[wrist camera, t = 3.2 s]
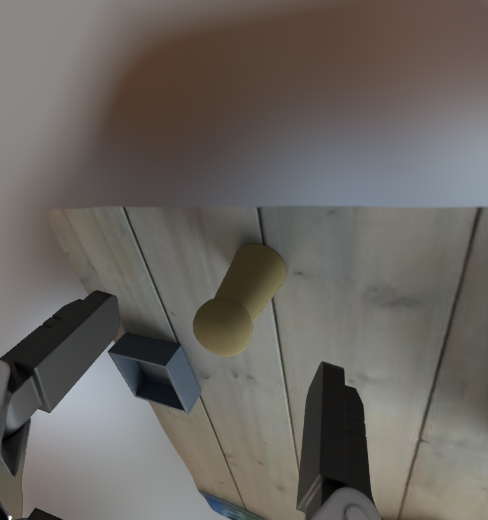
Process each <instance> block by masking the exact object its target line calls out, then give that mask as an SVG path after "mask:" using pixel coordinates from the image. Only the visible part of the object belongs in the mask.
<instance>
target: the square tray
mask: <svg viewBox="0 0 488 520" xmlns="http://www.w3.org/2000/svg"><path fill="white" fill-rule="evenodd" d="M108 353H109V355H110V356H111V358H112V360H113V361H114V363H115V365H116V366H117V368H118V370H119V371H120V373H121V374H122V376H123V378H124V379H125V381H126V383H127V384H128V386H129V388H130V389H131V391H132V393H133V394H134V396H135V397H138V398H141V399H144V400H147V401H150V402H153V403H156V404H159V405H162V406H165V407H168V408H171V409H175V410H178V411H181V412H184V413H187V414H189V413H190V411H191V410H192V408H193V406H194V404H195V403H196V401H197V399H198V397H199V395H200V394H201V390H200V388H199V386H198V383H197V381H196V379H195V376H194V374H193V371H192V369H191V367H190V364H189V362H188V360H187V357H186V355H185V353H184V350H183V348H182V345H180V344H175V343H171V342H166V341H161V340H156V339H151V338H146V337H141V336H137V335H132V334H127V333H125V334H124V335H123V336H122V337H121V338H120V339H119V340H118V341H117V342H116V343H115V344H114V345H113V346H112V347H111V348H110V350H109V351H108Z"/></svg>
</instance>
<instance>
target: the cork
mask: <svg viewBox="0 0 488 520" xmlns="http://www.w3.org/2000/svg"><path fill="white" fill-rule="evenodd" d="M286 273H287V270H286V266H285V263H284V261H283V260H282V258H281V256H280V255H279V254H277V253H276V252H275V251H274V250H273V249H271V248H269V247H267V246H265V245H261V244H248V245H246V246H243V247H242V248H240V249H239V250H238V251H237V253H236V255H235V257H234V259H233V261H232V263H231V265H230V267H229V269H228V271H227V273H226V275H225V277H224V279H223V281H222V283H221V285H220V287H219V289H218V291H217V293H216V295H215V297H214V299H211V300H209V301H207V302H206V303H204V304H203V305H202V306H201V307H200V308H199V310H198V311H197V313H196V315H195V318H194V321H193V330H194V334H195V336H196V338H197V340H198V341H199V342H200V343H201V345H202V346H204V347H205V348H206V349H207V350H209V351H211V352H212V353H214V354H217V355H220V356H226V357H229V356H234V355H237V354H238V353H240V352H242V351H243V350H244V349H245V348H246V347H247V345H248V344H249V342H250V340H251V338H252V333H253V322H254V321H255V319H256V318H257V317H258V315H259V314H260V313H261V311H262V310H263V309H264V307H265V306H266V305H267V303H268V302H269V301H270V299H271V298H272V297H273V295H274V294H275V293H276V292H277V290H278V289H279V288H280V286H281V285H282V284H283V282H284V280H285V278H286Z"/></svg>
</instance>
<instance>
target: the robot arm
mask: <svg viewBox="0 0 488 520" xmlns="http://www.w3.org/2000/svg"><path fill="white" fill-rule="evenodd" d="M119 327H120V320H119V309H118V299H117V297H116V296H115V295H111V294H108V293H105V292H102V291H99V290H96V291H94V292H92V293H91V294H90V295H89V296H87V297H86V298H85V299H84V300H81V299H78V300H76V301H74V302H71V303H69V304H67V305H65V306H63V307H62V308H61V309H60V310H59V311H57V312H56V313H55V314H54V315H53V316H52V318H51V317H50V318H49V319H48V320H46V321H45V322H44V323H43V325H42V326H39V327H38V328H37V329H36V330H34V331H33V332H32V333H31V334H29V335H28V336H27V337H26V338H24V339H23V340H22V341H21V342H20V343H18V344H17V345H16V346H15V347H14V348H12V349H11V350H10V351H9V352H7V353H6V354H5V355H4V356H2V357H1V358H0V520H62V519H60V518H58V517H56V516H53V515H51V514H49V513H46V512H44V511H42V510H40V509H37V508H35V509H34V511H33V512H32V513H31V515H30V516H29V517H28V518H22V509H23V495H22V485H21V484H22V474H23V467H24V461H25V455H26V448H27V442H28V436H29V430H30V423H31V418H30V417H31V416H32V415H33V414H34V412H35V411H36V410H37V409H40V410H42V411H45V412H48V413H50V412H51V411H52V410H53V409H54V408H55V407H56V406H57V404H58V403H59V402H60V401H61V400H62V399H63V397H64V396H65V395H66V394H67V393H68V391H69V390H70V389H71V388H72V387H73V386H74V385H75V383H76V382H77V381H78V380H79V379H80V378H81V377H82V375H83V374H84V373H85V372H86V371H87V369H88V368H89V367H90V366H91V365H92V364H93V363H94V362H95V360H96V359H97V358H98V357H99V356H100V354H101V353H102V352H103V351H104V350H105V349H106V347H107V346H108V345H109V344H110V343H111V342H112V341H113V339H114V338H115V337H116V335H117V333H118V330H119ZM364 421H365V418H364V407H363V403H362V401H361V398H360V396H359V394H358V392H357V390H356V388H353V387H350V386H346V385H345V375H344V369H343V368H342V367H339V366H336V365H333V364H329V363H326V362H323V361H322V362H321V363H320V365H319V367H318V370H317V372H316V374H315V376H314V378H313V381H312V383H311V385H310V387H309V390H308V394H307V399H306V406H305V417H304V428H303V439H302V451H301V462H300V473H299V484H298V495H297V507H296V509H297V510H299V511H302V512H304V513H306V520H383V519H382V517H381V515H380V514H379V512H378V510H377V508H376V506H375V503H374V501H373V497H372V493H371V485H370V474H369V463H368V452H367V440H366V437H365V435H366V429H365V423H364Z"/></svg>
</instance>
